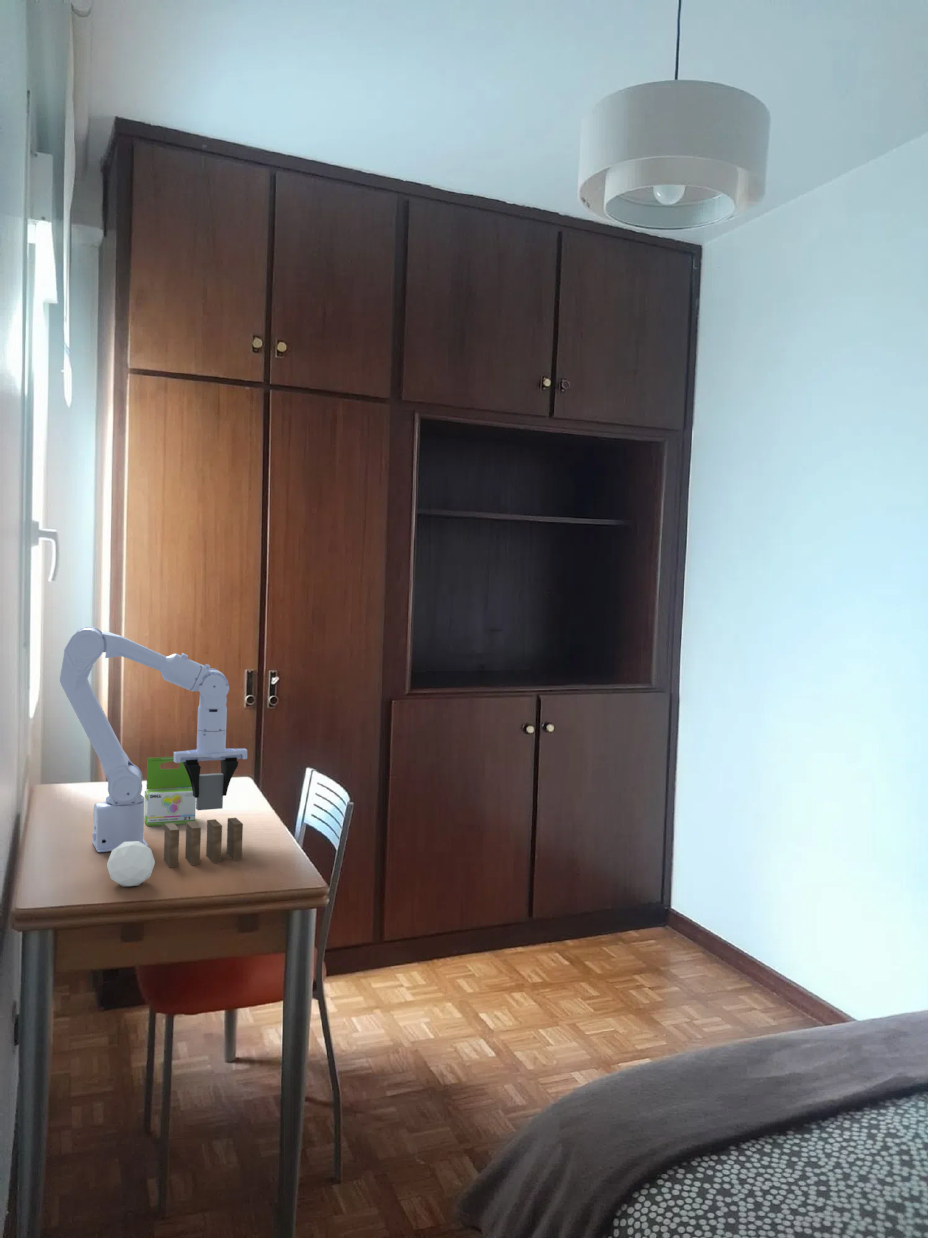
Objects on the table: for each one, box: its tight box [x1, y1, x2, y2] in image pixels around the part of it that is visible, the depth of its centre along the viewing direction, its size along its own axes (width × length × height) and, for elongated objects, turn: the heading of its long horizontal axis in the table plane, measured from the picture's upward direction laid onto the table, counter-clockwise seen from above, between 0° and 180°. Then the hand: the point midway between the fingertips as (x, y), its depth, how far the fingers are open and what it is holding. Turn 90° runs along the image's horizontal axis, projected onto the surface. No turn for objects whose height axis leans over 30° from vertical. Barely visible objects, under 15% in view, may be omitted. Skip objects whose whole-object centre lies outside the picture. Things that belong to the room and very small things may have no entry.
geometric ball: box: [106, 841, 156, 888], centre depth 168 cm, size 8×8×8 cm
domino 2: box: [184, 820, 202, 866], centre depth 183 cm, size 2×5×7 cm, turn 29°
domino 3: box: [195, 772, 224, 811], centre depth 196 cm, size 2×5×7 cm, turn 119°
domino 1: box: [163, 823, 180, 868], centre depth 181 cm, size 2×5×7 cm, turn 29°
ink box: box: [144, 756, 197, 827], centre depth 210 cm, size 10×5×14 cm, turn 114°
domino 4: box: [205, 818, 223, 864], centre depth 185 cm, size 2×5×7 cm, turn 29°
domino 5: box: [226, 817, 244, 861], centre depth 186 cm, size 2×5×7 cm, turn 29°
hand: (209, 795), depth 196 cm, fingers closed on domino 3, 5 cm apart
